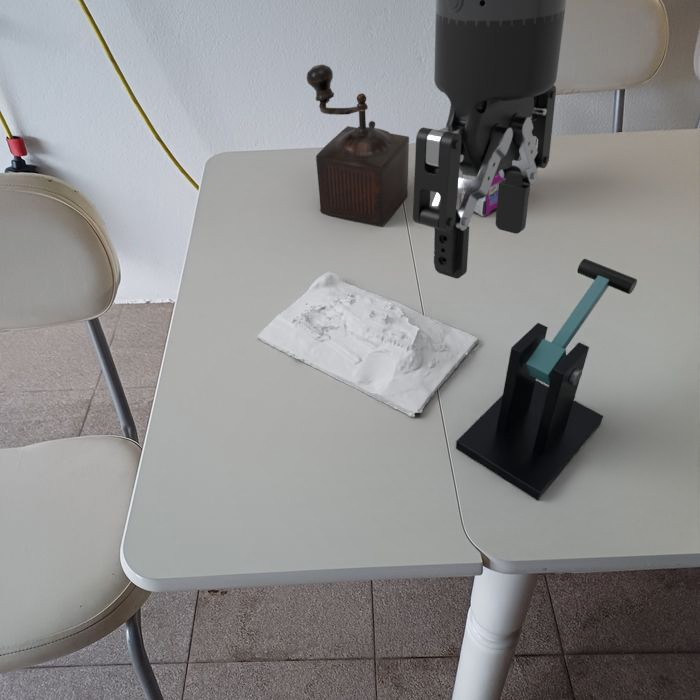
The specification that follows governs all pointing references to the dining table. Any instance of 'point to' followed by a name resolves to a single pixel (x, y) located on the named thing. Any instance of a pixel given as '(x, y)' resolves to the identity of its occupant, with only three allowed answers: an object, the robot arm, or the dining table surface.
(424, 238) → the dining table surface
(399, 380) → the terrain model
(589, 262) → the switch lever
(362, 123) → the manual coffee grinder
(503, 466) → the switch bracket
